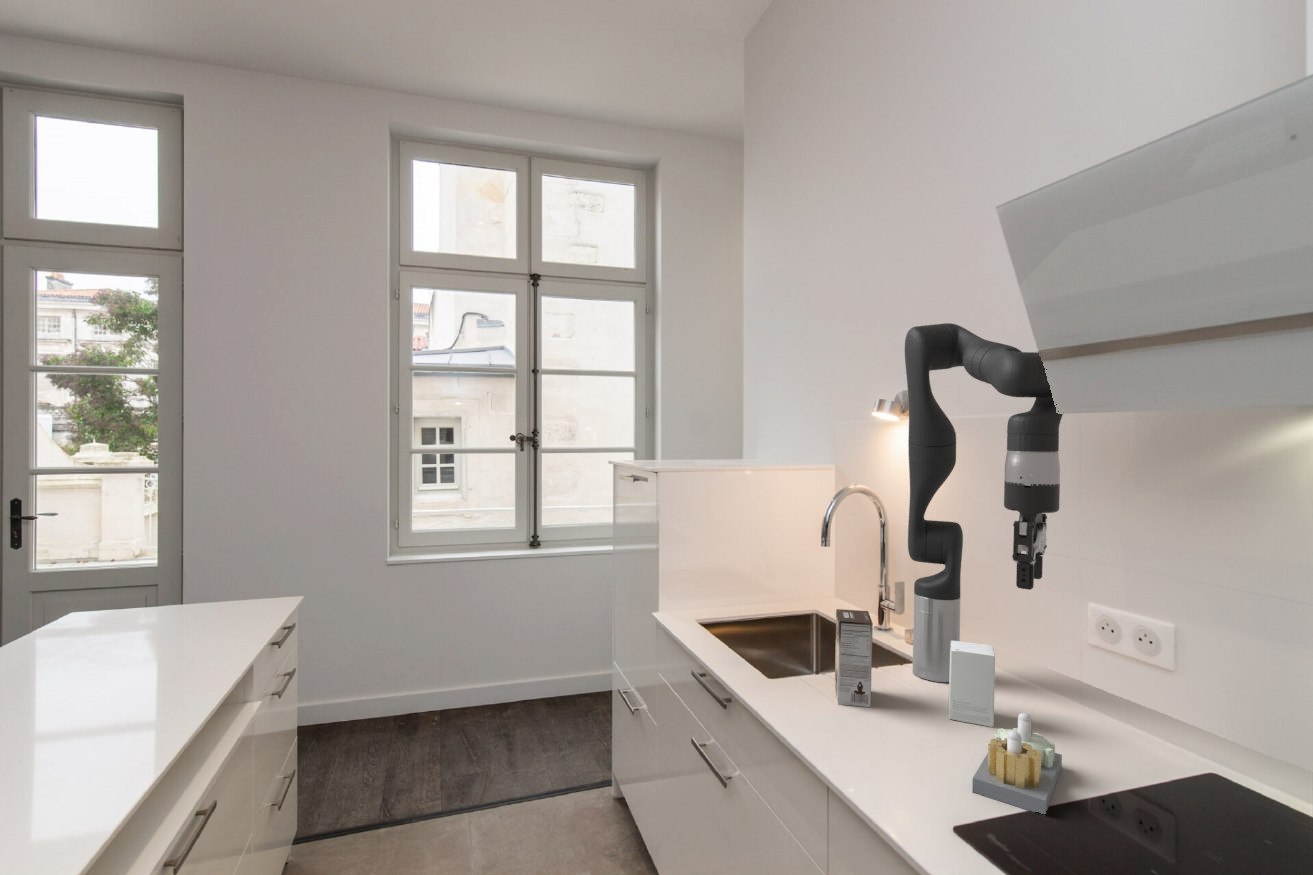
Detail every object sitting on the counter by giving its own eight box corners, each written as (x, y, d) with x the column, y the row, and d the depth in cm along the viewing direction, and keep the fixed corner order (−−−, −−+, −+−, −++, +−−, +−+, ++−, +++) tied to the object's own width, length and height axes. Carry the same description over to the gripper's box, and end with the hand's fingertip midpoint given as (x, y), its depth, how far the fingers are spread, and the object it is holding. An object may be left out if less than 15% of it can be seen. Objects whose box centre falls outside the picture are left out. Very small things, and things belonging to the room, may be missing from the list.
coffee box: (833, 686, 132) (835, 607, 132) (866, 690, 130) (868, 610, 131) (837, 704, 123) (838, 619, 123) (872, 708, 121) (874, 622, 122)
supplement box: (994, 728, 114) (995, 656, 114) (948, 719, 117) (949, 649, 117) (992, 712, 121) (993, 644, 121) (948, 705, 124) (950, 638, 124)
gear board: (997, 749, 106) (998, 697, 106) (1061, 767, 100) (1062, 712, 100) (972, 791, 92) (973, 732, 93) (1045, 815, 87) (1046, 752, 87)
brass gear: (993, 760, 98) (993, 733, 98) (1043, 775, 94) (1043, 747, 94) (983, 777, 93) (984, 749, 93) (1036, 793, 89) (1036, 764, 89)
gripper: (1013, 476, 109) (1011, 571, 110) (995, 481, 98) (993, 588, 98) (1065, 478, 105) (1063, 578, 105) (1053, 484, 93) (1050, 596, 94)
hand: (1029, 583), depth 102 cm, fingers open, 8 cm apart
